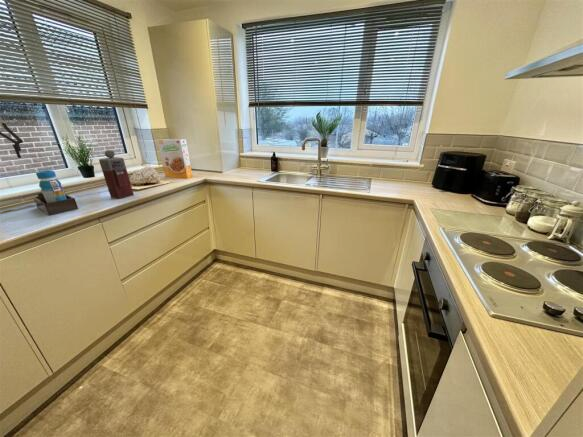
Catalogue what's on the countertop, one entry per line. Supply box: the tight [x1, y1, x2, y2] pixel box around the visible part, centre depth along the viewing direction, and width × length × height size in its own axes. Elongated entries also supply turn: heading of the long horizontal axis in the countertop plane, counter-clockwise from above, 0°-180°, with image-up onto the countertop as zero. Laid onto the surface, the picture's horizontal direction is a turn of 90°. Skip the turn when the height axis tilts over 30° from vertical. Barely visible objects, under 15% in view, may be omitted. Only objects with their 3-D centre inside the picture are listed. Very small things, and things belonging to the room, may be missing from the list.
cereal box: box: [157, 138, 193, 180], centre depth 194 cm, size 22×6×30 cm, turn 72°
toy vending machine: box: [98, 149, 135, 200], centre depth 144 cm, size 9×11×28 cm
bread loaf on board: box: [129, 166, 172, 190], centre depth 175 cm, size 28×22×16 cm
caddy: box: [32, 190, 79, 216], centre depth 129 cm, size 23×12×10 cm, turn 55°
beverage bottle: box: [35, 170, 67, 203], centre depth 123 cm, size 8×8×20 cm
